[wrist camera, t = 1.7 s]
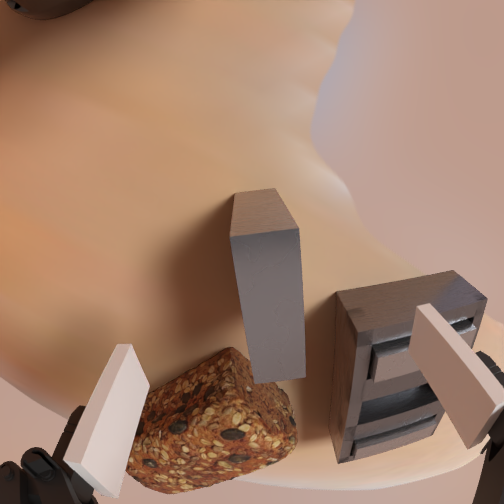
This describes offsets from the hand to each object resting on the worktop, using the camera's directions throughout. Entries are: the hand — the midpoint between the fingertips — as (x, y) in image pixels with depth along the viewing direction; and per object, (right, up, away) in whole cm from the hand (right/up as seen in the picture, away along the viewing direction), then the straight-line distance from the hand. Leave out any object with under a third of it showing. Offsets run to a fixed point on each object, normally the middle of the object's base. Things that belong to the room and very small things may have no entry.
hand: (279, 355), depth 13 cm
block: (0, +5, +11) cm, 12 cm away
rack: (+14, -8, +17) cm, 23 cm away
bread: (-7, -12, +18) cm, 23 cm away
